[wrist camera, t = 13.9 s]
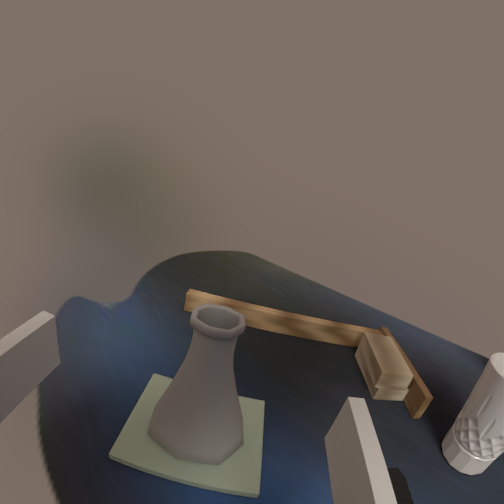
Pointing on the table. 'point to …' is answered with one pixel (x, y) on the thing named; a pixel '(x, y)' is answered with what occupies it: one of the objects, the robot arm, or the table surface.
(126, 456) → the coaster
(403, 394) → the offcut low
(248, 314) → the corner fence
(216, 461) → the flask
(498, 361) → the white cup
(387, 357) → the offcut top
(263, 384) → the table surface
